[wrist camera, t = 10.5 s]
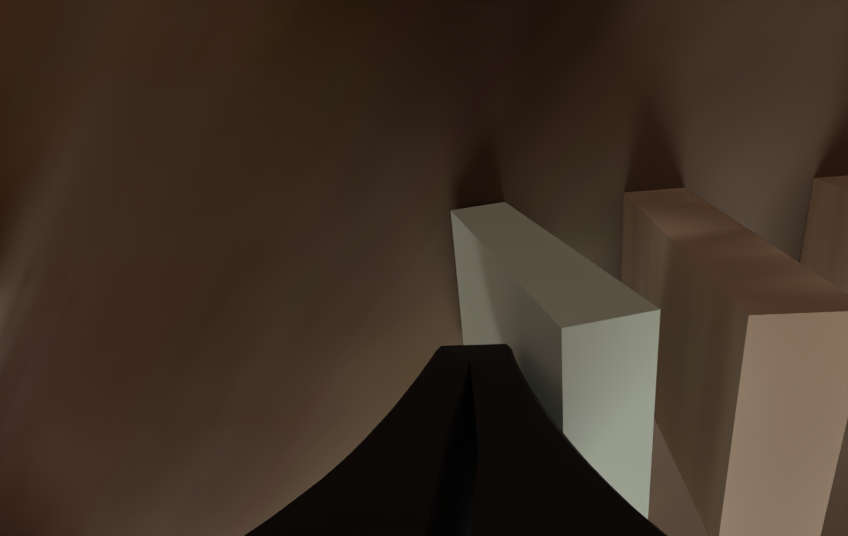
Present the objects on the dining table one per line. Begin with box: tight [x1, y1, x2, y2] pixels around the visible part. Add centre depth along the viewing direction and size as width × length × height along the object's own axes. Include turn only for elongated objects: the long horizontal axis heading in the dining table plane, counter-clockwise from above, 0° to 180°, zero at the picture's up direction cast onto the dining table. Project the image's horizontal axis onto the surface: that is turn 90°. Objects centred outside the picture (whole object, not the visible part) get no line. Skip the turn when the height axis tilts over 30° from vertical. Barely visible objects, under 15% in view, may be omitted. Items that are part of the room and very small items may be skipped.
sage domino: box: [451, 202, 660, 519], centre depth 11 cm, size 2×4×7 cm, turn 6°
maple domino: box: [621, 188, 848, 536], centre depth 11 cm, size 2×4×7 cm, turn 7°
